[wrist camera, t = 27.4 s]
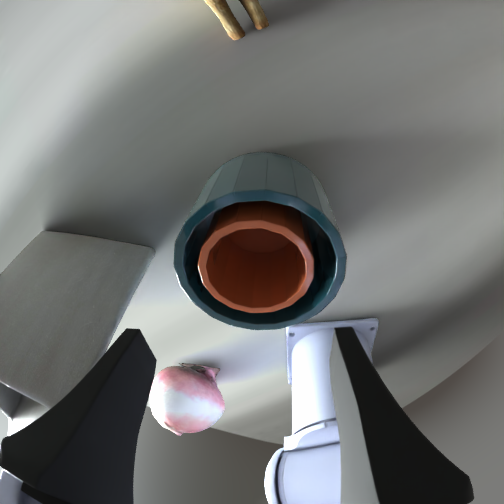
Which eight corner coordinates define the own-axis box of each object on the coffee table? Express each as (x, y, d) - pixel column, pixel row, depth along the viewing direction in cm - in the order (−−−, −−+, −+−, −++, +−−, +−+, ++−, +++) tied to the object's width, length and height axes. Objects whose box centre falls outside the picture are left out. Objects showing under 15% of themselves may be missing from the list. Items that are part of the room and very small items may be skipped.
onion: (144, 356, 29) (125, 413, 23) (203, 344, 27) (188, 411, 21) (187, 393, 33) (176, 444, 27) (242, 385, 31) (236, 443, 25)
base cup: (326, 262, 21) (339, 326, 16) (212, 268, 22) (195, 330, 17) (327, 148, 16) (351, 185, 11) (189, 159, 17) (154, 200, 12)
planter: (86, 173, 18) (-113, 405, 2) (158, 252, 21) (47, 524, 5) (17, 269, 24) (-77, 412, 8) (67, 320, 27) (-5, 471, 11)
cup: (305, 250, 20) (313, 310, 15) (225, 255, 20) (211, 314, 16) (302, 172, 17) (313, 216, 12) (210, 180, 17) (186, 225, 13)
